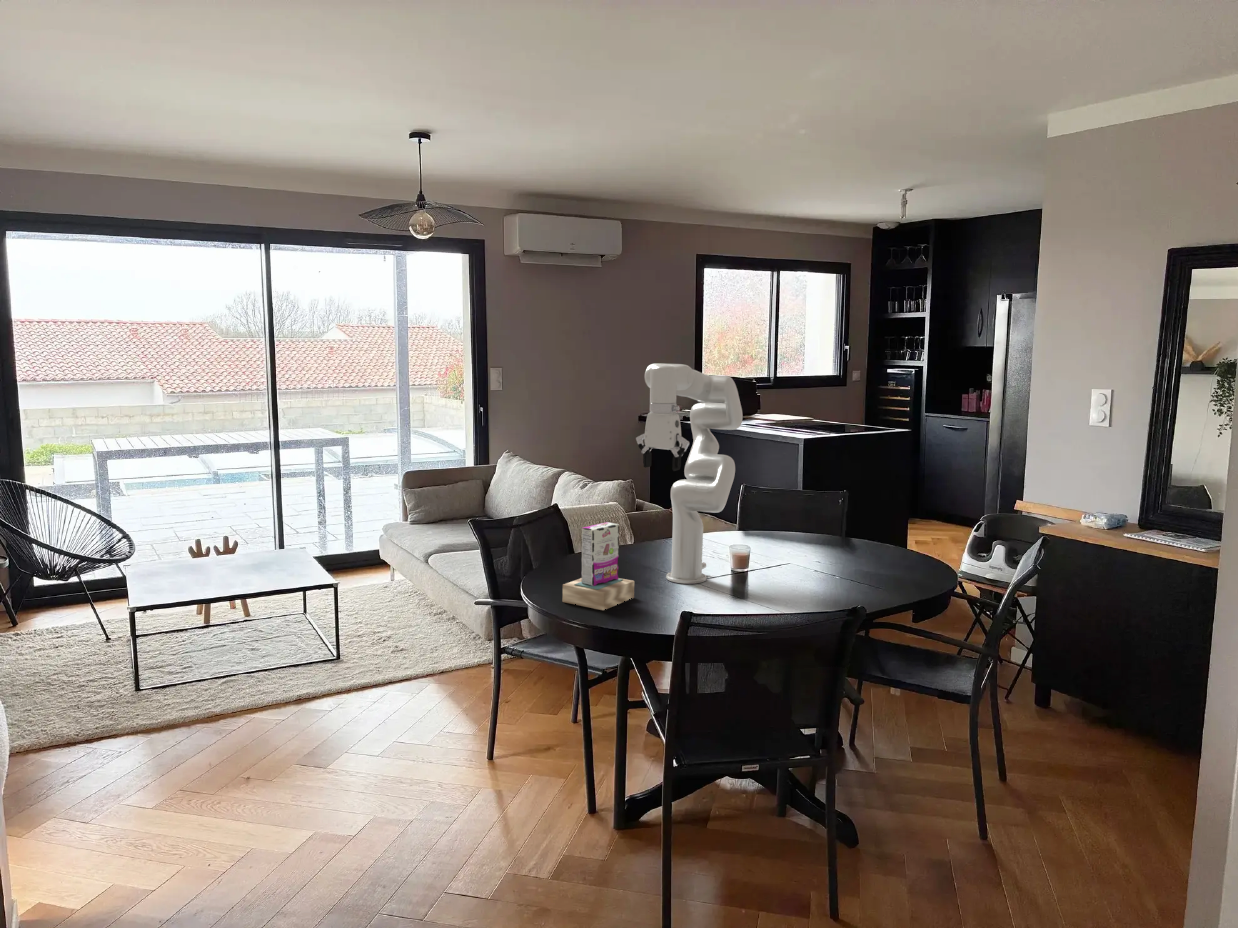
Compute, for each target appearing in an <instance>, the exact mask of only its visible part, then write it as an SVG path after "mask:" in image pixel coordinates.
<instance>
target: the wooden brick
mask: <svg viewBox="0 0 1238 928" xmlns="http://www.w3.org/2000/svg"><path fill="white" fill-rule="evenodd" d="M631 598H632V599H634V598H635V580H632V579H627V578H626V579H625V578H620V577H619V579H617V580H614V581H610V582H607V583H603V584H600V585H596V586H590V585H585V584H582V577H580V578H578V579H575V580H572V581H570V582H569V581H568V582H565V583H563V584H562V599H561V600H562V603H566V604H571V605H575V604H576V605H575V606H581V607H585V608H591V609H594V610H600V611H606V610H608V609H610V608H612V607H615V606H617V604H618V605H620V604H623V603H625V602H627V601H629V599H630V600H632V599H631ZM624 601H625V602H624ZM605 609H606V610H605Z"/></svg>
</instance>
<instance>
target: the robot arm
mask: <svg viewBox="0 0 1238 928" xmlns="http://www.w3.org/2000/svg"><path fill="white" fill-rule="evenodd" d="M644 382H645V384H646V386H647V387H648V388H649V412H648V413H647V416H646V421H645V427H644V428H645V429H644V433H642V434H640V435H638V436H637V437H635V440H636V443H637V445H638V448H639V449H640V451H641V454H642V455H643V457H642V458H643V459H642V461H643V462H642V463H643V468H651V467H652V456H653V455H652V452H651V451H652V449H659V450H667V451H669V450H670V451H671V453H672V454H673V457H672V464H671V465H672V467H671V470H672V471H673V472H676V471H680V469H681V467H682V457H683V455H684V454H685V453H686V452H687V449H688V447H690V441H689V440H687V439H686V438H685V437H683V436H682V427H681V426H682V425H681V420H680V415H679V414H677V412H678V411H680V409H681V408H680V406H679V405H678V404H677V396H679V397H686V398H689V399H692V400H694V401H697V402H698V403H694V404H693V406H691V409H690V412H689V420H690V428H691V433H692V439H693V442H692V446H691V448H690V452H689V454H688V457H687V460H686V462H685V465H684V471H683V472H684V477H685V478H686V479H685V478H684V479H679V480H677V481H675V482H673V484H672V486H671V488H670V500H671V508H672V534H671V535H672V536H671V537H672V539H671V540H672V541H671V571H670V572H668V573H666V577H665V578H666V579H667V580H668V581H670V582H672V583H677V584H685V585H686V584H688V585H689V584H693V585H694V584H701V583H704V582H705V581H707V575H706V574H704V573H703V569H705V568H707V563H706V562H703V545H704V544H703V543H704V542H703V541H704V524H703V520H702V518H701V516H700V514H699V512H703V513H714V514H715V513H720V512H722V511H723V510H724V508H725V506H726V504H727V501H728V498H729V495H730V493H731V492H730V491H731V488H732V485H733V482H734V479H735V476H736V475H735V473H736V464H735V460H734V459H733V458H732V457H731V456H729V455H727V454H718V453H719V449H720V444H719V442H718V440H717V438H716V436H714V434H713V433H712V432H711V429H712V430H724V431H727V430H728V431H732V430H733V431H734V430H737V429H739V428H740V426H741V425H742V424H743V417H744V416H743V408H742V405H741V401H740V396H739V391H738V388H737V385H736V383H735V381H734V380H733V378H732V377H730V376H728V375H715V374H714V375H713V374H712V375H710V374H709V375H708V374H705V373H702V372H701V371H698V370H696V369H693V368H692V367H691V366H689V365H687V364H682V363H660V362H659V363H656V362H655V363H651V364H649V365H648V366H647V367H646V369H645V372H644Z"/></svg>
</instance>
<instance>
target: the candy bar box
mask: <svg viewBox="0 0 1238 928" xmlns="http://www.w3.org/2000/svg"><path fill="white" fill-rule="evenodd" d="M619 530H620V524H619V523H613V522H609V521H607V522H602V523H598V524H593V525H589V526H588V525H587V526H584V527H581V578H582V584H585V585H590V586H596V585H600V584H603V583H607V582H610V581H614V580H617V579H619V578H620V577H619V575H620V573H619V568H620V567H619V564H620V561H619V557H620V555H619V553H620V552H619V550H620V549H619V548H620V547H619V546H620V541H619V539H620V538H619V537H620V531H619Z"/></svg>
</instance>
